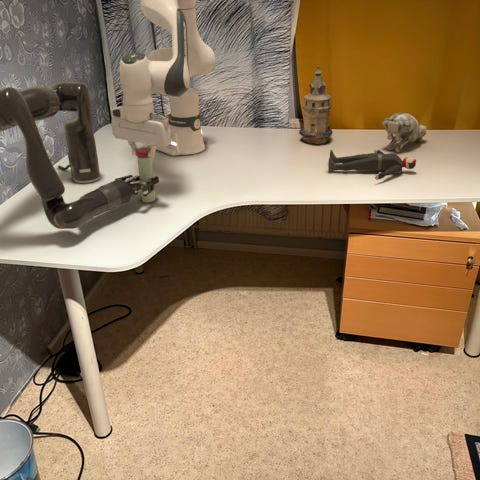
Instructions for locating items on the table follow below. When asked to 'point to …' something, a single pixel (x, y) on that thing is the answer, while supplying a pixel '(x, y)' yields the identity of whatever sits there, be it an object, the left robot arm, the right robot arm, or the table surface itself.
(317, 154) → the table surface
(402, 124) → the figurine
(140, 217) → the table surface
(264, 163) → the table surface
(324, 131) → the miniature building
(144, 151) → the lid
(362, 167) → the toy
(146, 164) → the olive green cylinder
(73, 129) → the left robot arm
